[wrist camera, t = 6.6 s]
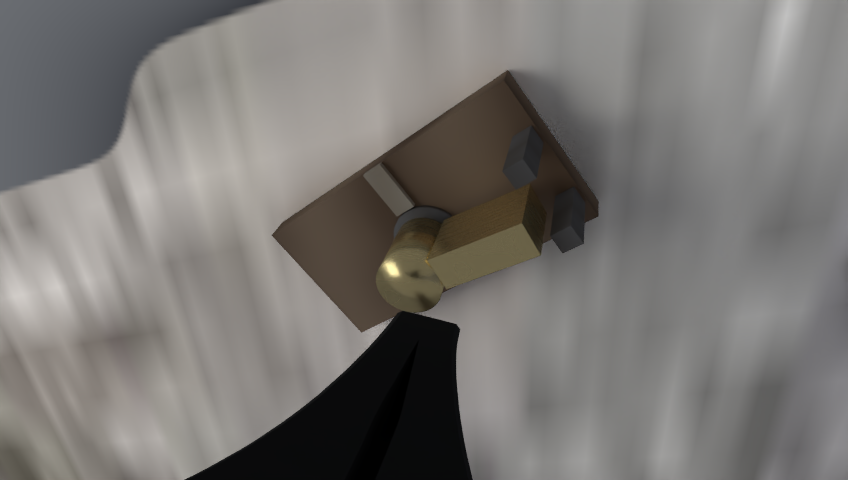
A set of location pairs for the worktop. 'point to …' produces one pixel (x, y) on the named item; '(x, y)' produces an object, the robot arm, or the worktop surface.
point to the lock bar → (460, 249)
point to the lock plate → (435, 194)
